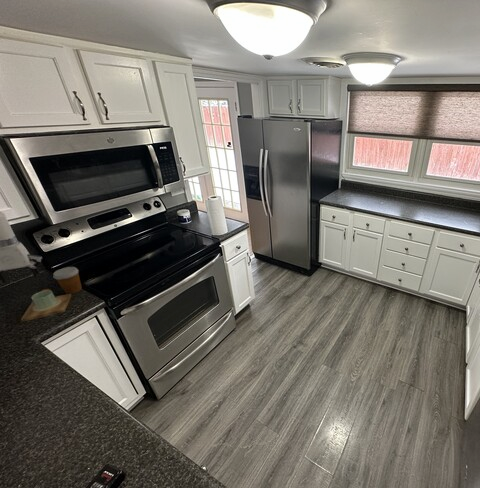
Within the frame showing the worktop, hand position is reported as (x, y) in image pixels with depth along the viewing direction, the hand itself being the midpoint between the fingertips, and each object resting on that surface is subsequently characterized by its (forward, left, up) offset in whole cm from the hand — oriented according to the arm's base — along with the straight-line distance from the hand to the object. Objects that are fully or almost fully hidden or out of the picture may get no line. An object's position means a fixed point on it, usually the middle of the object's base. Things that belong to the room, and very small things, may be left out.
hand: (21, 278), depth 113 cm
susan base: (+2, +3, -19) cm, 19 cm away
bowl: (+2, +3, -18) cm, 18 cm away
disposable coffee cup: (+9, +15, -19) cm, 26 cm away
